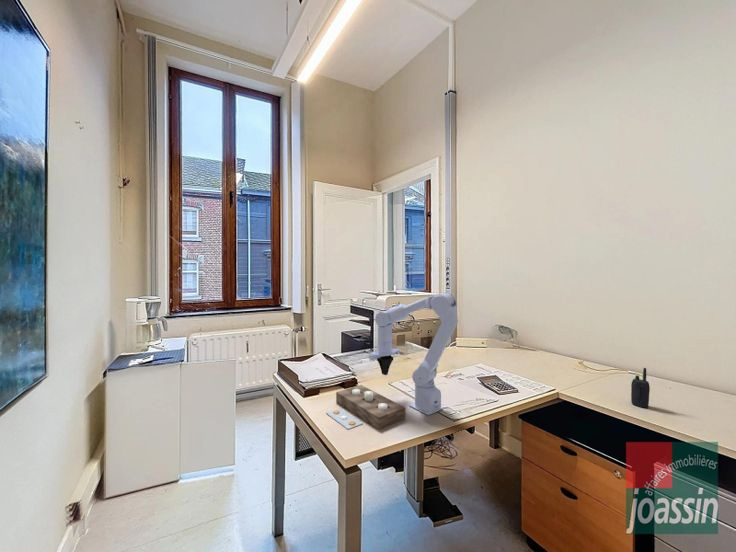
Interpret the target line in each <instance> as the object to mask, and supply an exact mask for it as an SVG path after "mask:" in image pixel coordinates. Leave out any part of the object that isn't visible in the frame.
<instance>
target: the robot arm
mask: <svg viewBox="0 0 736 552" xmlns="http://www.w3.org/2000/svg"><path fill="white" fill-rule="evenodd" d="M457 307H458V303H457V300H456V298H455V296H454V295H453V294H451V293H449V292H443V293H441V294H435V295H431V296H426V297H423V298H421V299H419V300H417V301H414V302H412V303H409V304H407V305H406V304H403V303H401V304H400V303H396V304H395V306H394V307H391V308H385V310H384V311H379V312H378V313H377V314H376V315H375V317H374V320H375V323H376V325H377V349H376V351H374V352H373V353H369V356H368V359H369V360H371V361H374V360H377V362H378V364H379V367H380V371H381V375H383V376H388V375H389V370H390V366H391V364H392V363H393V361H394V356H395V355H400V354H401V352H400V351H401V350H400V349H399V348H397V347H396V348H393V324H394V323H397V322H399V321H402V320H406V319H407V318H408V317H409V315H410V314H411V313H415V312H417V311H419V310H423V309H428V310H433V312H434V313H435V314H436V315H437V316H438V318H439V320H440V322H441V323H440V326H439V328H438V330H437V332H436V333H435V336H434V338H433V340H432V342H431V344H430V346H429V349H428V350H427V353H426V355H425V357H424V359H423V360H422V362H421V363H420V364H419V366H418V368H416V369H415V370H414V371H413V372H412V376H411V378H412V381H413V383H414V403H412V404H409V407H411V408H413V409H415V410H416V411H419V412H421V413H423V414H425V415H427V416H430V415H433V414H435V413H438V412H439V410H440V411H441V409H442V410H443V407H442V393H441V390H440V389H439V388H438V387H437V386H436V385H435V381H434V380H435V378H436V377H437V374H438V373H437V369H438V367H439V362H440V360H441V358H442V356H443V353H444V351H445V350H446V347H447V346H448V343H449V341H450V339H451V338H452V335H453V333H454V331H455V328H456V327H457V325H458V322H459V321H458V319H459V318H458V310H457Z"/></svg>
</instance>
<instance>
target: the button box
mask: <svg viewBox="0 0 736 552" xmlns="http://www.w3.org/2000/svg"><path fill="white" fill-rule="evenodd" d="M353 389H359V390H360V394H358V395H354V394H352V390H353ZM366 391H372V392H373V401H371V402H366V401H365V392H366ZM335 395H336V396H335V399H336V401H335V403H337V404H338V403H339V405H340V406H341V407H343V406H344V407H343V408H345V410H348V411H349V412H350V413H352V414H354V415H355V416H357V417H358V418H360V419H362V420H364V422H365V423H368V424H370V425H371V426H372V427H374V428H376V429H377V430H382V429H383V428H386V427H388V426H391V425H393V424H395V423H399V422H400V421H403V420H406V407H405V406H403V405H401V404H399V403H397V402H395V401H393V400H391V399H389V398H388V397H385V396H383V395H382V394H379V393H378V392H376V391H374V390H372V389H370V388H367V387H366V386H364V385H362V384H360V385H357V386H353V387H349V388H345V389H343V390H339V391H336V392H335ZM380 403H386V404H387V409H386V410H383V411H382V410H380V409H378V404H380Z"/></svg>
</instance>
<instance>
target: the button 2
mask: <svg viewBox="0 0 736 552" xmlns="http://www.w3.org/2000/svg"><path fill="white" fill-rule="evenodd" d="M378 409H380V410H382V411H383V410H386V409H387V404H386V403H380V404H378Z"/></svg>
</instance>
